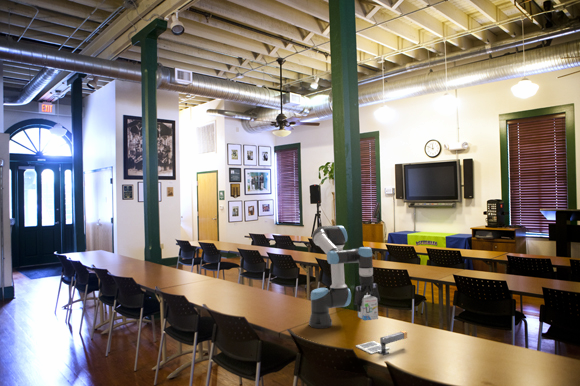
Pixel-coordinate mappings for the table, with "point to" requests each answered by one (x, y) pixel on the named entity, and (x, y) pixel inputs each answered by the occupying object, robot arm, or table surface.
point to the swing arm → (393, 337)
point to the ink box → (369, 308)
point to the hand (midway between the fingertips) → (367, 315)
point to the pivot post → (383, 350)
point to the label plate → (370, 347)
